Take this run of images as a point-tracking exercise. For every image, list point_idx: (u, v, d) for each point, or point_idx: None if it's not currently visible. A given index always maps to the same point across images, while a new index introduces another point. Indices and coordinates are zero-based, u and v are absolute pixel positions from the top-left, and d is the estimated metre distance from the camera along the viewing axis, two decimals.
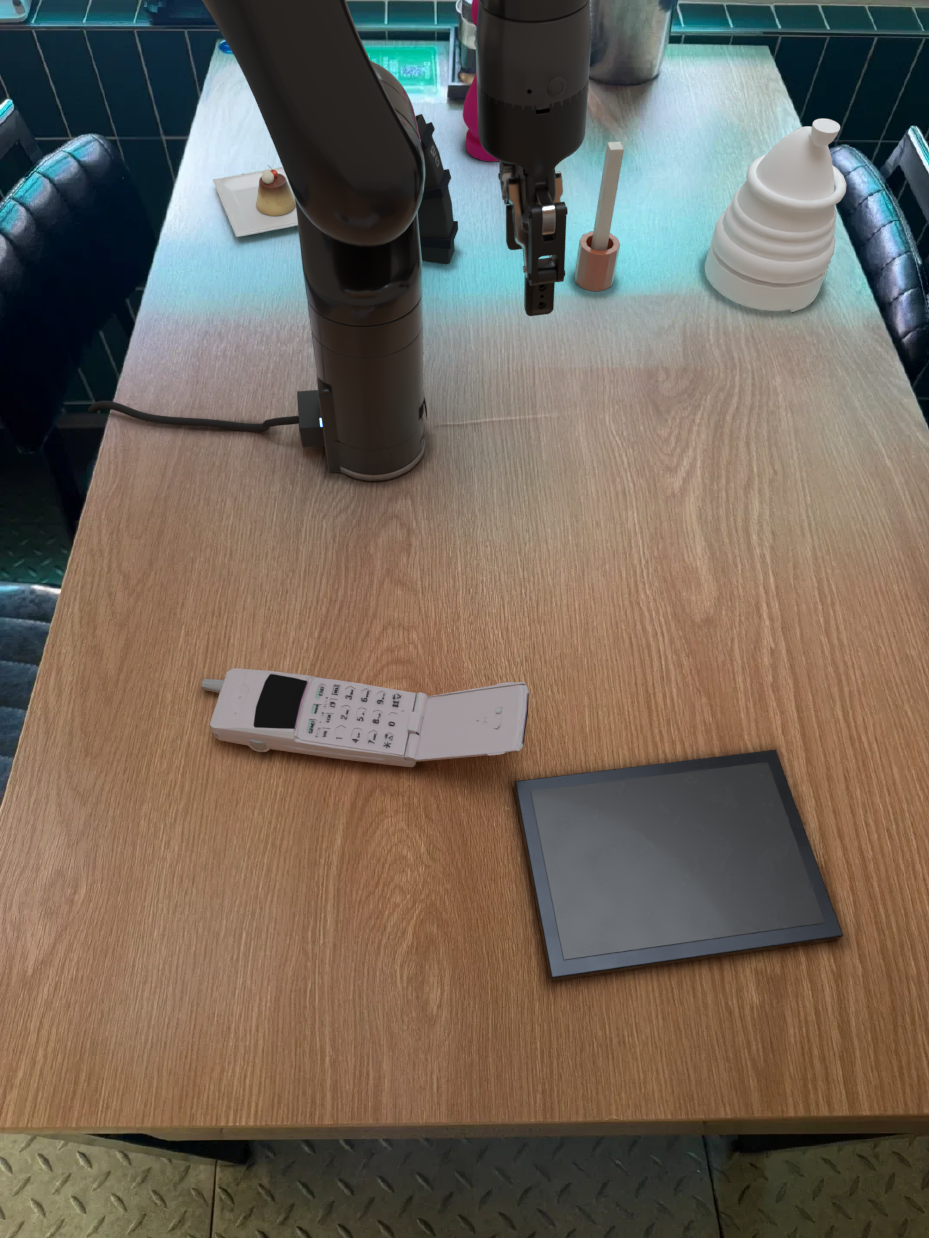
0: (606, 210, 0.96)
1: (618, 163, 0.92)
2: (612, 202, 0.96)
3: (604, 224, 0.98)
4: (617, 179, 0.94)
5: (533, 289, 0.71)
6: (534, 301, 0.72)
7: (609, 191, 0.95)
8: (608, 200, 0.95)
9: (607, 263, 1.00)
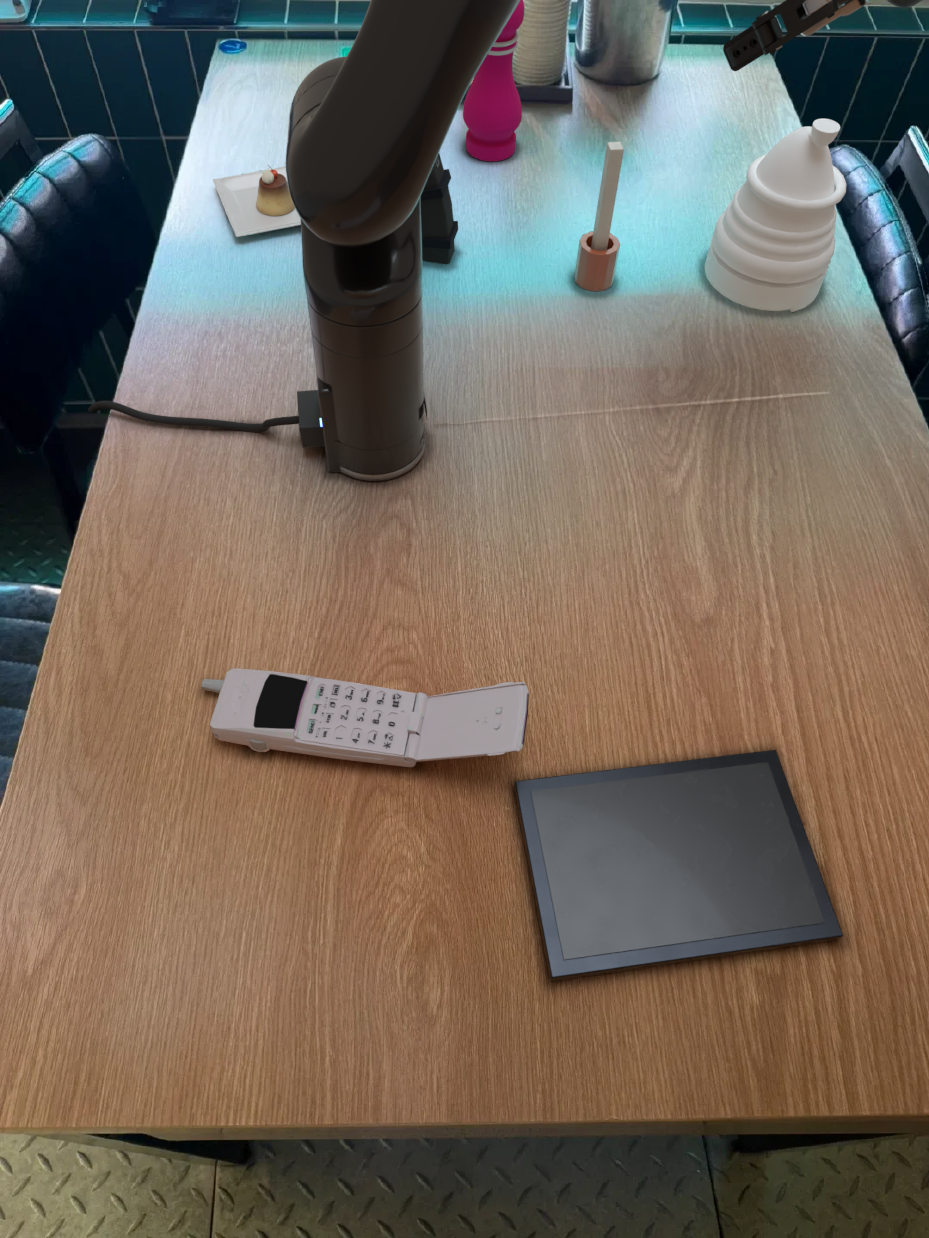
0: (606, 210, 0.96)
1: (618, 163, 0.92)
2: (612, 202, 0.96)
3: (604, 224, 0.98)
4: (617, 179, 0.94)
5: (749, 35, 0.71)
6: (738, 43, 0.72)
7: (609, 191, 0.95)
8: (608, 200, 0.95)
9: (607, 263, 1.00)
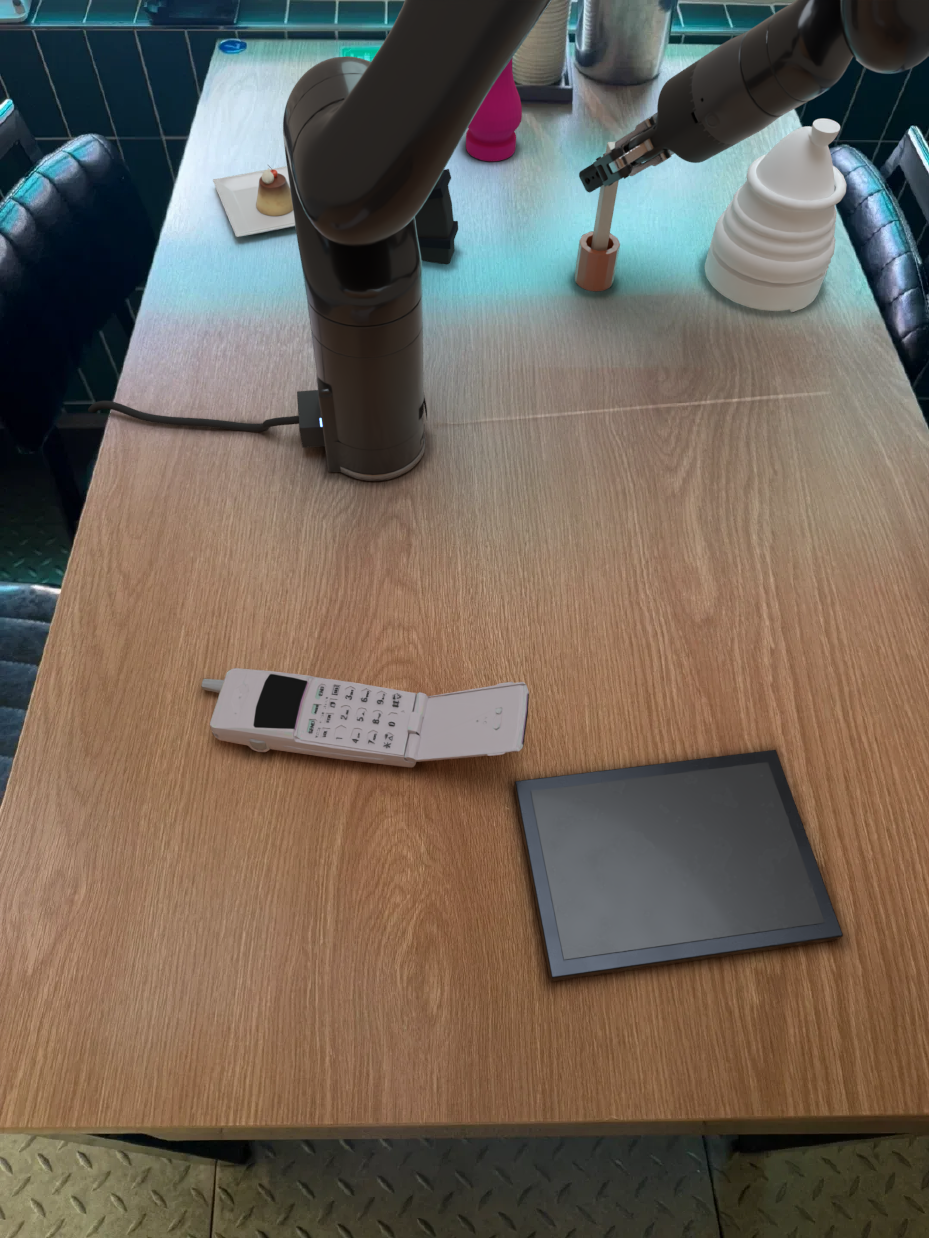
0: (606, 210, 0.96)
1: None
2: (612, 202, 0.96)
3: (604, 224, 0.98)
4: None
5: (595, 168, 0.92)
6: (588, 173, 0.93)
7: (609, 191, 0.95)
8: (608, 200, 0.95)
9: (607, 263, 1.00)
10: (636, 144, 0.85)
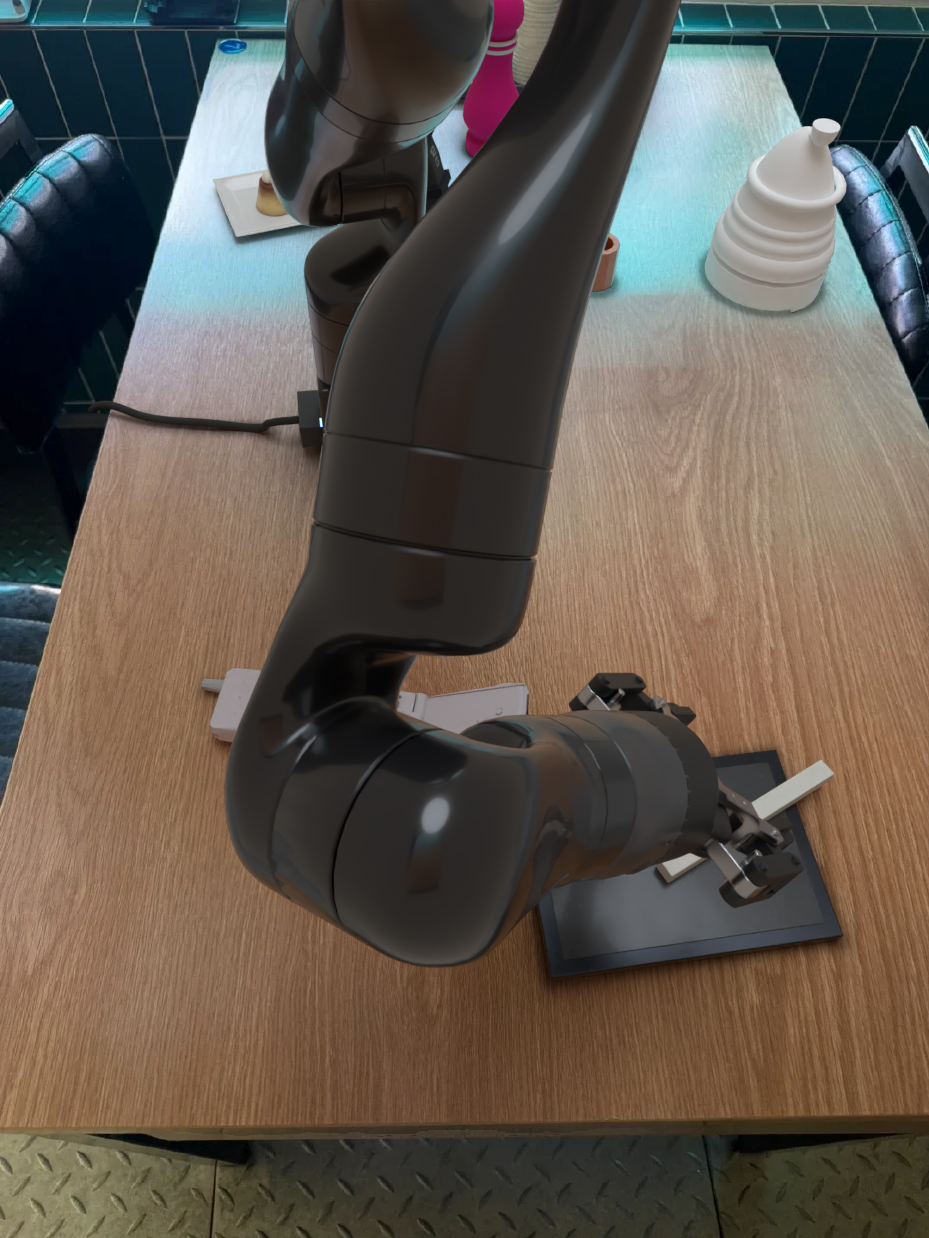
0: (761, 806, 0.67)
1: (817, 779, 0.68)
2: (774, 806, 0.67)
3: None
4: (801, 792, 0.68)
5: None
6: None
7: (782, 793, 0.68)
8: (772, 800, 0.67)
9: (607, 263, 1.00)
10: None
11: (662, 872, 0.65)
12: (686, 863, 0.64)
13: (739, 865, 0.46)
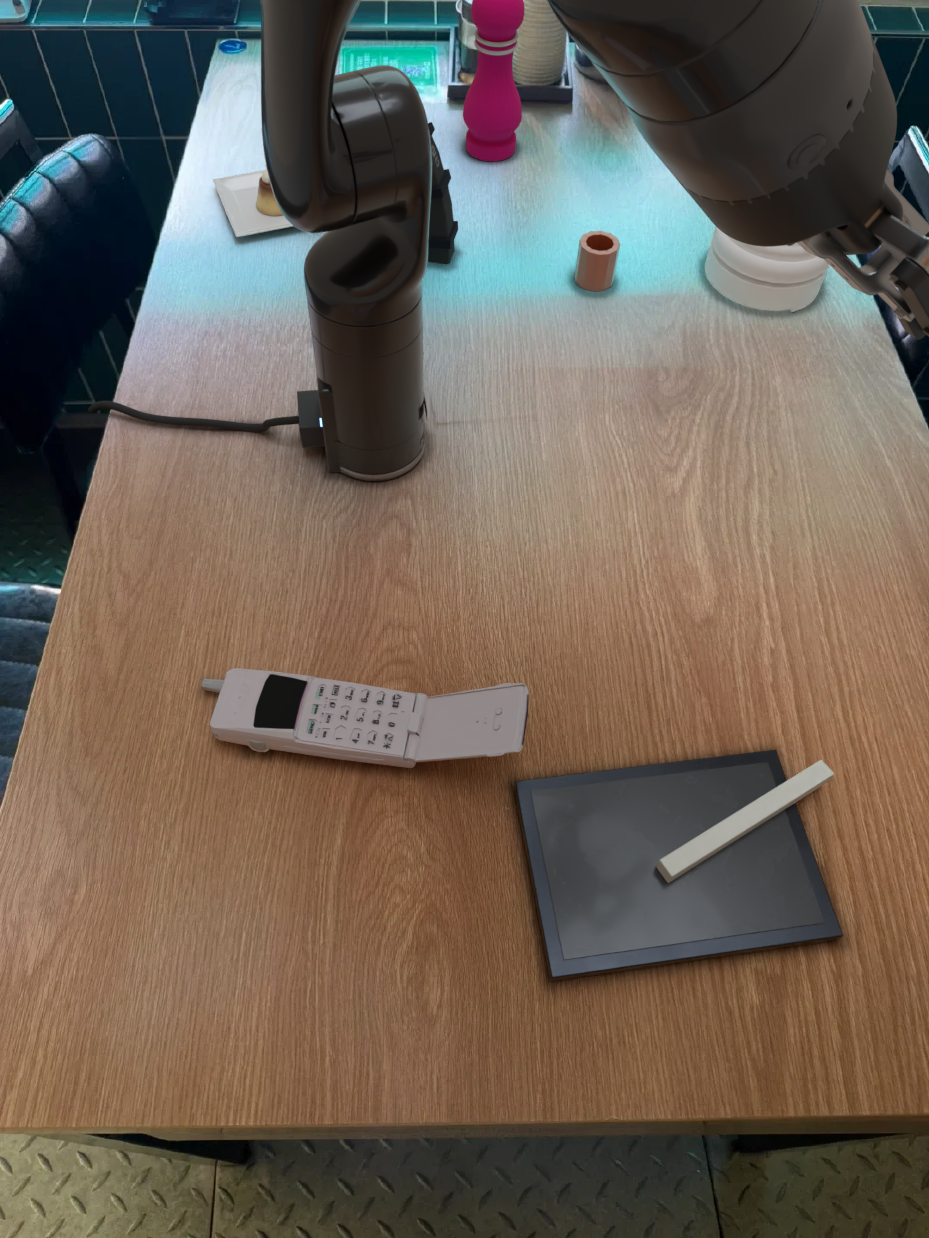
0: (761, 806, 0.67)
1: (817, 779, 0.68)
2: (774, 806, 0.67)
3: (744, 817, 0.66)
4: (801, 792, 0.68)
5: None
6: None
7: (782, 793, 0.68)
8: (772, 800, 0.67)
9: (607, 263, 1.00)
10: None
11: (662, 872, 0.65)
12: (686, 863, 0.64)
13: (919, 233, 0.35)
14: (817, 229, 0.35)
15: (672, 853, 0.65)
